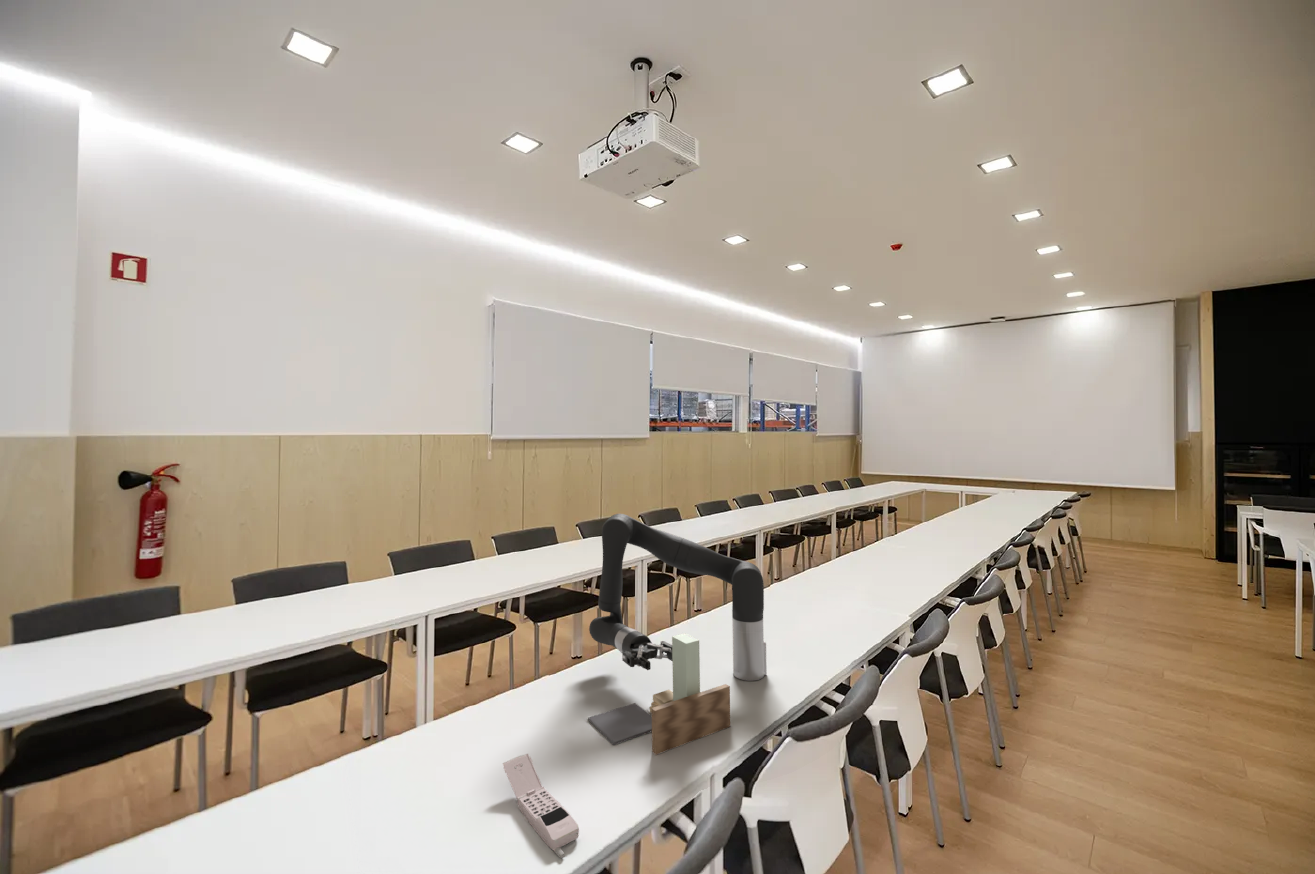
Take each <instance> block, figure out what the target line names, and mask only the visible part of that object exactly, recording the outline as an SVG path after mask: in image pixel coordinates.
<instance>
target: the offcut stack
mask: <svg viewBox="0 0 1315 874" xmlns="http://www.w3.org/2000/svg"><path fill="white" fill-rule="evenodd" d="M672 701H673V690H672V689H671V690H670V689H666V690H664V691H661V692H657V693H655V694H652V702H651V706H649V713H651V714H652V708H654V707H657V706H660V705H663V704H666V703H669V702H672Z"/></svg>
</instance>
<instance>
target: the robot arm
mask: <svg viewBox="0 0 1315 874" xmlns="http://www.w3.org/2000/svg"><path fill="white" fill-rule="evenodd" d="M601 527H602V528H601V541H602V542H601V543H602V568H601V576H600V578H601V579H600V582H599V583H600V584H599V593H598V600H597V601H598V603H597V605H598V608H599V610H600V611H602V612H606V613H609V615H606V616H604V615H603V616H598V617H597V616H596V617H595V618H593V619H592V621H590V624H589V626H588V627H589V629H588V630H589V634H590V636H591V638H592V639H593V640H594V641H596V642H597V643H599V644H603V645H608V646H612V647H613V648H615V649H616V650H618V651H619V652H620V654H621V655H622V658H621V659H622V661H623V662H624V663H625V664H626V665H627V666H629V667H630V668H634V667H635V666H637V667H641V668H642V669H645V670H647V671H650V670H651V666H652V665H651V661H650V660H652V659H656V660H662V659H668V660H669V661H671V662H673V661H672V643H670V642H669V643H668V642H666V641H664V640H662V641H660V644H656V643H653V642H652V641H651V639H650V638H649V636H648V635H646V634H643V633H642V632H640V631H639V630H637V629H634V628H632V627H630V626H627V625H626V624H624V620H623V616H622V608H621V607H622V605H621V604H622V603H621V602H622V597H623V586H624V585H623V584H624V583H623V582H624V581H623V562H624V556H625V551H626V550H627V545H628V544H629V545H633V546H635V547H638V548H641V549H644V550H645V551H647V552H649V553H650V554H651V555H653V556H654V557H655V558H657V559H658V560H660V561H661V562H662V563H665V564H666V565H668V566H671V567H673V568H675V569H678V570H680V571H683V572H686V573H690V574H696V575H701V576H708V577H709V576H710V577H713V578H716V579H719V580H721V581H724V582H726V583H728V584H730V585H731V588H732V589H731V591H732V592H731V594H732V597H731V598H732V599H731V600H732V601H731V602H732V603H731V604H732V606H731V608H732V609H731V614H732V615H731V616H732V619H731V620H732V669H733V670H732V672H733V673H732V674H733V676H734V677H735V678H737V679H738V680H743V681H746V682H747V681H749V682H750V681H751V682H752V681H753V682H754V681H758V680H759V681H760V680H762V679H763V678H764V677H765V675H767V642H766V641H764V639H765V638H764V611H765V610H764V609H765V608H764V607H765V606H764V605H765V599H764V598H765V597H764V596H765V595H764V594H765V591H764V587H765V585H764V583H765V582H764V578H763V575H762V573H761V570H760V568H759V567H758V566H757V565H756V564H754V563H752V562H749V561H745V560H742V559H737V558H735V557H731V556H727V555H724V554H720V553H719V552H717V551H714V550H712V549H710V548H708V547H706V546H704V545H701V544H699V543H696V542H694V541H692V540H689V539H686V538H684V537H681V536H678V535H676V534H672V533H669V532H667V531H664V530H661V529H657V528H654V527H652V526H650V525H647V524H645V523H643V522H641V521H639V520H637V519H636V518H634V517H631V516H630V515H627V514H625V513H616V514H613V515H611V516H609V518H608V519H607V520H606V521H605V522H604V523H603V525H602V526H601ZM658 652H659V653H658ZM664 653H665V654H664Z"/></svg>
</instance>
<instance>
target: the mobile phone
mask: <svg viewBox="0 0 1315 874" xmlns="http://www.w3.org/2000/svg"><path fill="white" fill-rule="evenodd" d="M502 766H503V769H504V770H503V771H504V773H505V774H506V776H507V779H508V780H509V783H510V785H511V788H512V790H513V793H514V795H515V798H516V799H517V807H518V809H519V811H520V812H521V813H522V815H523V816H524V818H525V819H526V820H527V822H528V823H529V824H530V825H531V827H532V828H533V830H534V831H535V832H536V833H537V834H538V836H539V837H540V838H541V840H542V841H543V842H544V843H545V844H546V845H547V846H548V847H549V848H550V849H551V850H553V851H554V853H555V854H556V855H557V856H558V857H559V858H560V859H563V858H565V852H564V851H563V849H562V847H563V846H565V845H567V844H570V843H572V842H574V841H575V840H577V839H578V838H579V835H580V828H579V824H578V823H577V822H576V820H575V819H574V817H573V816H572V814H571V813H570V812H568V810H567V809H566V808H565V807H564V806H563V805H562V804H561V803H560V802H559V801H558V800H557V799H556V798H555V797H554V795H552V793H550V792H549V791H548V790H547V789H546V787H545V786H543V785H542V783H541V781H540V778H539V775H538V773H537V771H536V768H535V766H534V763H533V759H532V757H531V756H530V754H529V753H525V754H522V755H519V756H517V757H514V758H512V759H510V760H507V761H505V762H503V763H502Z"/></svg>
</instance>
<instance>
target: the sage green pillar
mask: <svg viewBox="0 0 1315 874" xmlns="http://www.w3.org/2000/svg"><path fill="white" fill-rule="evenodd" d="M671 642H672V643H671V645H672V661H671V662H672V692H673V701H675V700H678V699H681V698H684V697H688V696H691V695H694V694H697V693H700V692H701V674H700V673H701V670H700V669H701V668H700V667H701V666H700V665H701V663H700V662H701V661H700V660H701V659H700V658H701V657H700V639H698V638H695V637H694V636H691V635H690V634H688V633H681V634H676V635H672V636H671Z"/></svg>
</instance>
